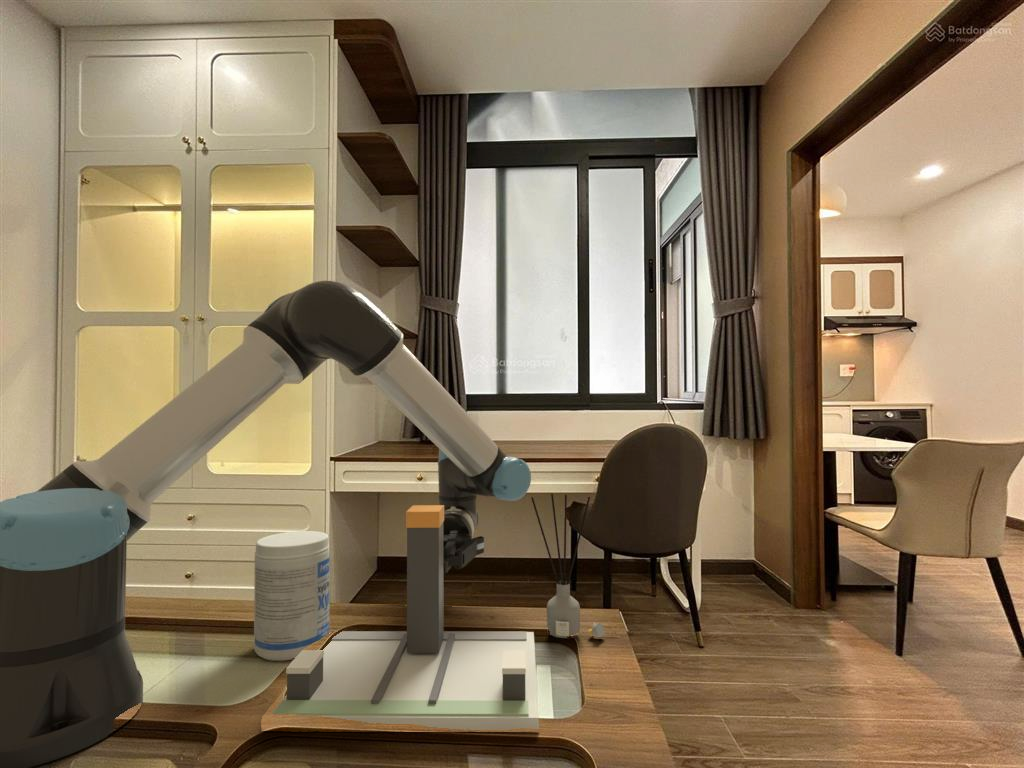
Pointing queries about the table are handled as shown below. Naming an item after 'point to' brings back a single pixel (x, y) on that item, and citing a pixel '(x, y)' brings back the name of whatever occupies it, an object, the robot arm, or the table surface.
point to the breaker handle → (424, 578)
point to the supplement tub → (290, 593)
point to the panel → (419, 681)
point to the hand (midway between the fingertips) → (429, 576)
